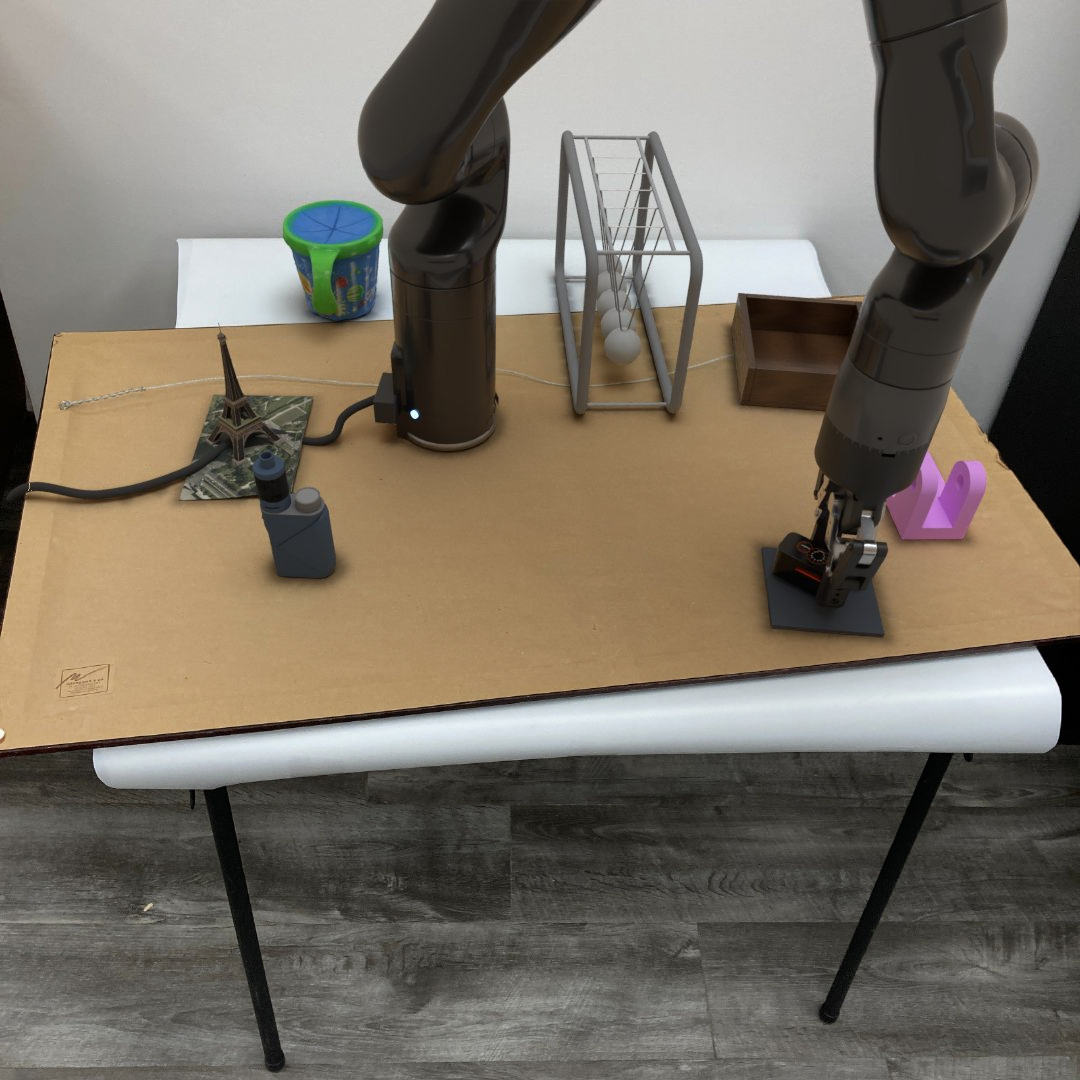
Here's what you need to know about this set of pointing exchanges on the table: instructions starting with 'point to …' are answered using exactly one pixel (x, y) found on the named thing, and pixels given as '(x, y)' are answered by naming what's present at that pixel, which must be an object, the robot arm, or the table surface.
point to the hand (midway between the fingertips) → (824, 578)
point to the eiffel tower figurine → (245, 437)
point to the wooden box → (790, 348)
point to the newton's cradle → (607, 272)
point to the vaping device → (294, 522)
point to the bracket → (939, 501)
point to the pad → (804, 614)
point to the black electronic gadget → (801, 562)
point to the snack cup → (336, 255)
